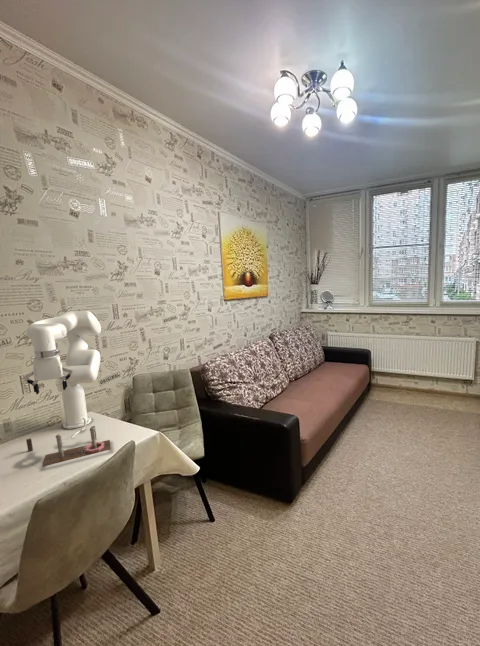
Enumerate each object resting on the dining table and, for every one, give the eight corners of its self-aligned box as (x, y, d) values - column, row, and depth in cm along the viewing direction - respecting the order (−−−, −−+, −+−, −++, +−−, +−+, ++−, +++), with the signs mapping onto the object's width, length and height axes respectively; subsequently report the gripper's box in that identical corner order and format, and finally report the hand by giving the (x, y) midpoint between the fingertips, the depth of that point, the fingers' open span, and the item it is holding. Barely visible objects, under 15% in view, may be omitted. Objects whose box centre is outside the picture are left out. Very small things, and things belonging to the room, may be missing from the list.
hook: (96, 425, 160) (76, 451, 141) (76, 426, 159) (54, 452, 140) (93, 413, 158) (72, 438, 139) (73, 414, 157) (50, 439, 138)
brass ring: (20, 455, 134) (18, 440, 133) (41, 450, 138) (39, 436, 136) (15, 469, 124) (12, 453, 123) (37, 463, 128) (35, 448, 126)
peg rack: (45, 458, 132) (41, 433, 130) (110, 442, 144) (107, 419, 142) (42, 470, 123) (38, 443, 121) (111, 452, 136) (108, 428, 134)
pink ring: (85, 442, 142) (83, 428, 140) (103, 438, 145) (101, 424, 144) (84, 454, 132) (82, 439, 131) (104, 449, 136) (102, 434, 134)
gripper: (70, 350, 142) (75, 385, 145) (22, 355, 133) (28, 392, 136) (69, 353, 136) (74, 390, 139) (18, 358, 127) (24, 397, 130)
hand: (51, 391), depth 138 cm, fingers open, 9 cm apart
